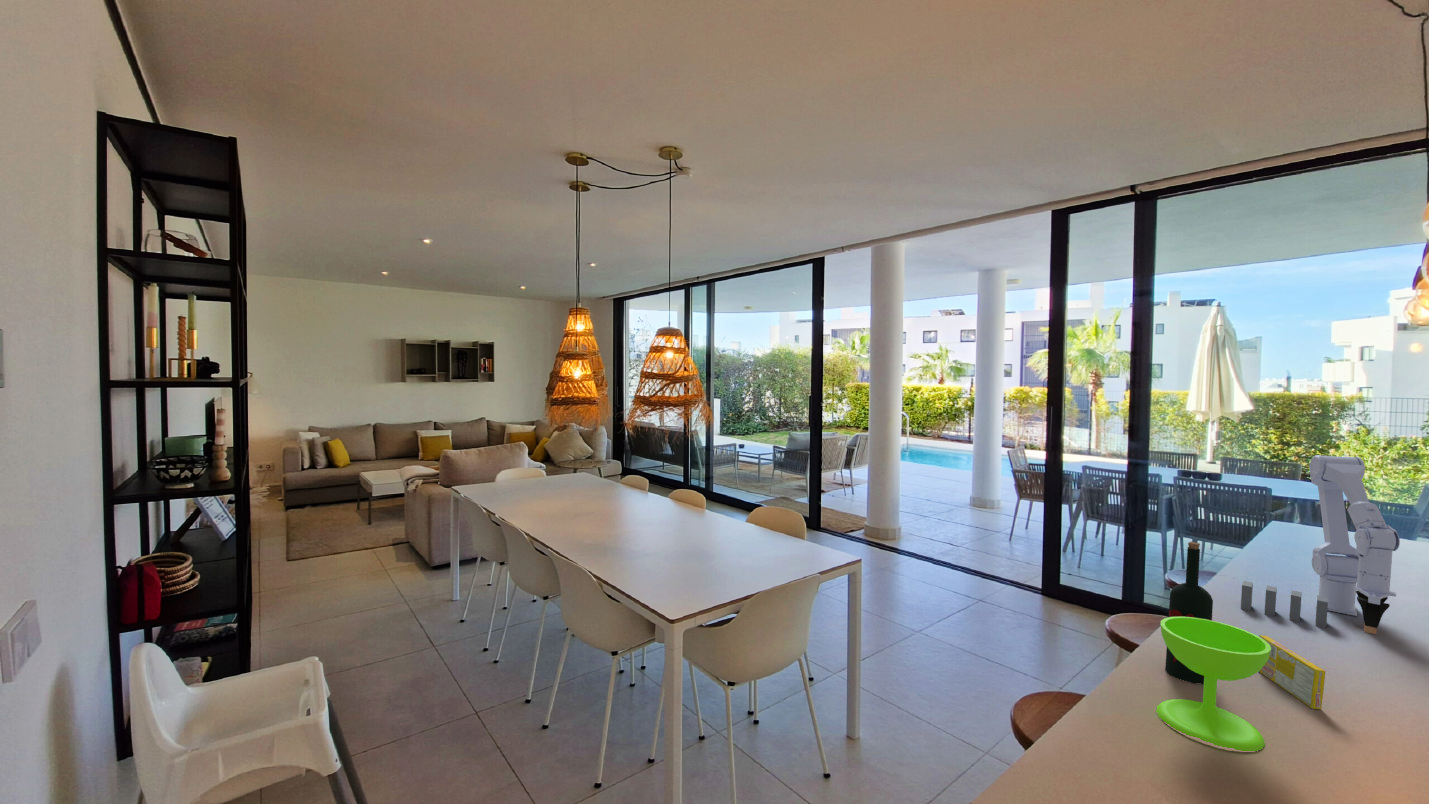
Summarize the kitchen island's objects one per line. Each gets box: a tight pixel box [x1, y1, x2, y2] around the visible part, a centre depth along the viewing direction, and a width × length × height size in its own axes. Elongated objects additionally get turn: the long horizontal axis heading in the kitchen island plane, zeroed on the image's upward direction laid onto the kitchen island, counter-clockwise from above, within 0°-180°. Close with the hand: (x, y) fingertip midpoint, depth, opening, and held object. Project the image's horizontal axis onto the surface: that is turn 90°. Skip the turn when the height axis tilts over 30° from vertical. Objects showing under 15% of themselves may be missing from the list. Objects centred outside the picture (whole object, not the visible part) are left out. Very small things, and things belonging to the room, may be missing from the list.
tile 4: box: [1264, 585, 1278, 617], centre depth 165 cm, size 5×2×7 cm, turn 134°
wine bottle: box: [1164, 541, 1214, 685], centre depth 129 cm, size 8×10×30 cm
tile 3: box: [1289, 589, 1303, 623], centre depth 161 cm, size 5×2×7 cm, turn 134°
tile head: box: [1363, 622, 1378, 635], centre depth 154 cm, size 5×2×7 cm, turn 134°
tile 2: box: [1315, 594, 1329, 628], centre depth 158 cm, size 5×2×7 cm, turn 134°
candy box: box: [1258, 634, 1326, 710], centre depth 125 cm, size 16×2×8 cm, turn 168°
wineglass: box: [1155, 616, 1271, 752], centre depth 111 cm, size 16×16×18 cm
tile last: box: [1240, 580, 1254, 612], centre depth 168 cm, size 5×2×7 cm, turn 134°
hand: (1370, 623), depth 154 cm, fingers closed on tile head, 5 cm apart
